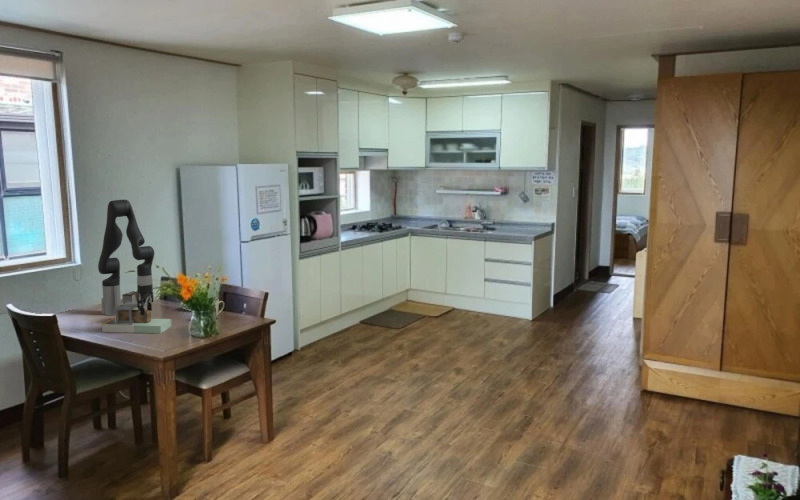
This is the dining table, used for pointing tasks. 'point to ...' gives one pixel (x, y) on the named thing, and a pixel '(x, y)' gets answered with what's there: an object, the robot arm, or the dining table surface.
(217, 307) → the mug
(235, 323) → the dining table surface
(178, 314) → the dining table surface
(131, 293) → the coffee box
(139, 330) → the tunnel deck
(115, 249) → the robot arm
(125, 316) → the walnut bar
